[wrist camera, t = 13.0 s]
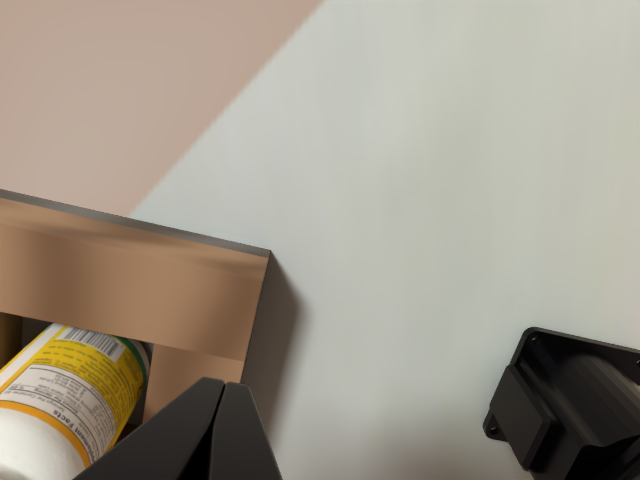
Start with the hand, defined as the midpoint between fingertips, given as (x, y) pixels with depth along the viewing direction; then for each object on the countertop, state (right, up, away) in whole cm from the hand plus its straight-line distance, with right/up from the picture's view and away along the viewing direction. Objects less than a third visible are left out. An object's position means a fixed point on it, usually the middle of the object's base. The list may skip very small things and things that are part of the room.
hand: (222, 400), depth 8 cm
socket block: (-9, -2, +15) cm, 17 cm away
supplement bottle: (-9, -3, +14) cm, 17 cm away
